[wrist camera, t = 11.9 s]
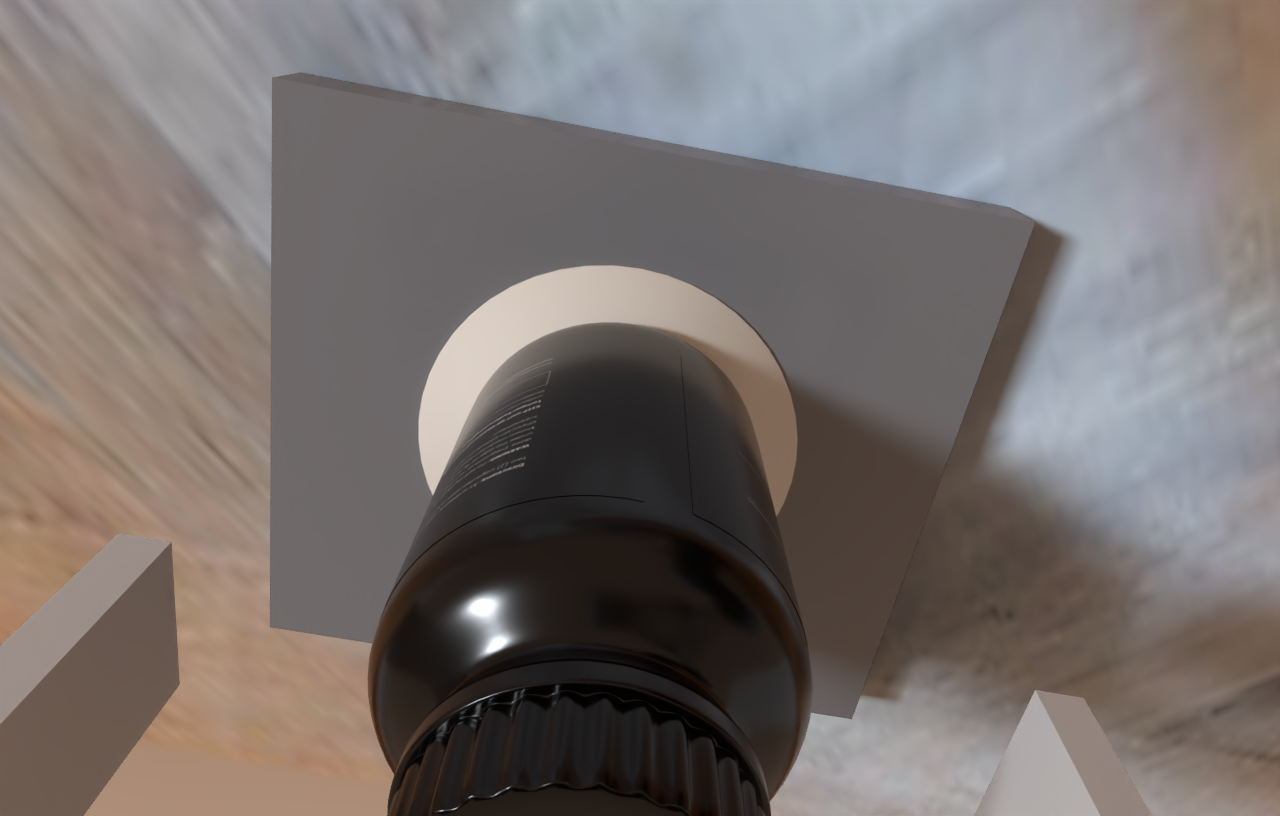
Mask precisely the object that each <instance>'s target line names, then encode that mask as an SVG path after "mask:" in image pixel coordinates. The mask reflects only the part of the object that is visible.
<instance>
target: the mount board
mask: <svg viewBox="0 0 1280 816" xmlns="http://www.w3.org/2000/svg"><path fill="white" fill-rule="evenodd" d="M1034 225H1035V222H1034V221H1032V220H1031V219H1029V218H1027V217H1025V216H1024V215H1022V214H1020V213H1019V212H1017V211H1015V210H1013V209H1012V208H1010V207H1004V206H999V205H994V204H989V203H983V202H978V201H973V200H968V199H962V198H957V197H952V196H947V195H941V194H936V193H931V192H926V191H920V190H915V189H910V188H904V187H899V186H894V185H889V184H883V183H878V182H873V181H868V180H862V179H857V178H852V177H847V176H841V175H836V174H831V173H826V172H820V171H815V170H810V169H805V168H799V167H794V166H789V165H784V164H778V163H773V162H768V161H763V160H757V159H752V158H747V157H741V156H736V155H731V154H726V153H720V152H715V151H710V150H705V149H699V148H694V147H689V146H684V145H678V144H673V143H668V142H663V141H657V140H652V139H647V138H642V137H636V136H631V135H626V134H621V133H615V132H610V131H605V130H600V129H594V128H589V127H584V126H578V125H573V124H568V123H563V122H557V121H552V120H547V119H542V118H536V117H531V116H526V115H521V114H515V113H510V112H505V111H500V110H494V109H489V108H484V107H479V106H473V105H468V104H463V103H458V102H452V101H447V100H442V99H437V98H431V97H426V96H421V95H415V94H410V93H405V92H400V91H394V90H389V89H384V88H379V87H373V86H368V85H363V84H358V83H352V82H347V81H342V80H337V79H331V78H326V77H321V76H316V75H310V74H305V73H295V74H290V75H284V76H278V77H273V78H272V245H271V493H270V627H272V628H278V629H285V630H291V631H297V632H304V633H310V634H316V635H323V636H329V637H335V638H342V639H348V640H354V641H361V642H367V643H373V640H374V636H375V633H376V630H377V627H378V624H379V621H380V618H381V615H382V613H383V610H384V607H385V605H386V602H387V600H388V597H389V595H390V593H391V590H392V588H393V586H394V584H395V581H396V579H397V577H398V574H399V572H400V570H401V567H402V565H403V563H404V561H405V558H406V556H407V554H408V551H409V549H410V547H411V545H412V542H413V540H414V538H415V535H416V533H417V531H418V529H419V526H420V524H421V522H422V519H423V517H424V515H425V513H426V510H427V508H428V506H429V503H430V501H431V499H432V497H433V494H434V492H435V490H436V487H437V485H438V483H439V480H440V478H441V476H442V474H443V471H444V469H445V467H446V464H447V462H448V460H449V458H450V455H451V453H452V451H453V448H454V446H455V444H456V442H457V439H458V437H459V435H460V432H461V430H462V428H463V426H464V423H465V421H466V419H467V417H468V415H469V413H470V411H471V409H472V407H473V405H474V403H475V401H476V399H477V397H478V395H479V393H480V392H481V390H482V389H483V387H484V386H485V384H486V383H487V381H488V380H489V379H490V377H491V376H492V375H493V374H494V373H495V371H496V370H497V369H498V368H499V367H500V366H501V365H502V364H503V363H504V362H505V361H506V360H507V359H508V358H509V357H511V356H512V355H513V354H514V353H516V352H517V351H518V350H520V349H521V348H523V347H524V346H526V345H528V344H529V343H531V342H533V341H535V340H537V339H539V338H541V337H543V336H545V335H547V334H550V333H553V332H555V331H558V330H561V329H564V328H568V327H572V326H576V325H582V324H588V323H600V322H619V323H628V324H635V325H640V326H645V327H649V328H652V329H656V330H659V331H662V332H665V333H667V334H670V335H672V336H674V337H677V338H678V339H680V340H682V341H684V342H686V343H688V344H690V345H691V346H693V347H694V348H696V349H697V350H699V351H700V352H702V353H703V354H704V355H705V356H707V357H708V358H709V359H710V360H712V361H713V362H714V363H715V364H716V365H717V366H718V367H719V368H720V369H721V370H722V371H723V372H724V373H725V375H726V376H727V377H728V378H729V380H730V381H731V382H732V383H733V385H734V386H735V388H736V390H737V391H738V393H739V394H740V396H741V398H742V400H743V402H744V404H745V406H746V408H747V410H748V413H749V416H750V418H751V421H752V424H753V427H754V431H755V435H756V437H757V441H758V445H759V449H760V452H761V456H762V460H763V465H764V469H765V473H766V477H767V481H768V485H769V489H770V493H771V497H772V501H773V505H774V509H775V513H776V517H777V521H778V525H779V529H780V533H781V537H782V541H783V545H784V549H785V554H786V558H787V562H788V566H789V570H790V574H791V578H792V582H793V586H794V590H795V594H796V598H797V602H798V606H799V610H800V614H801V618H802V622H803V626H804V631H805V635H806V639H807V645H808V651H809V657H810V664H811V672H812V679H813V697H812V706H811V713H817V714H823V715H829V716H836V717H842V718H848V719H852V717H853V714H854V712H855V709H856V706H857V704H858V701H859V698H860V696H861V693H862V690H863V687H864V685H865V682H866V679H867V677H868V674H869V671H870V668H871V666H872V663H873V660H874V658H875V655H876V652H877V650H878V647H879V644H880V641H881V639H882V636H883V633H884V631H885V628H886V625H887V623H888V620H889V617H890V614H891V612H892V609H893V606H894V604H895V601H896V598H897V595H898V593H899V590H900V587H901V585H902V582H903V579H904V577H905V574H906V571H907V568H908V566H909V563H910V560H911V558H912V555H913V552H914V550H915V547H916V544H917V541H918V539H919V536H920V533H921V531H922V528H923V525H924V522H925V520H926V517H927V514H928V512H929V509H930V506H931V504H932V501H933V498H934V495H935V493H936V490H937V487H938V485H939V482H940V479H941V477H942V474H943V471H944V468H945V466H946V463H947V460H948V458H949V455H950V452H951V449H952V447H953V444H954V441H955V439H956V436H957V433H958V431H959V428H960V425H961V422H962V420H963V417H964V414H965V412H966V409H967V406H968V404H969V401H970V398H971V395H972V393H973V390H974V387H975V385H976V382H977V379H978V376H979V374H980V371H981V368H982V366H983V363H984V360H985V358H986V355H987V352H988V349H989V347H990V344H991V341H992V339H993V336H994V333H995V331H996V328H997V325H998V322H999V320H1000V317H1001V314H1002V312H1003V309H1004V306H1005V303H1006V301H1007V298H1008V295H1009V293H1010V290H1011V287H1012V285H1013V282H1014V279H1015V276H1016V274H1017V271H1018V268H1019V266H1020V263H1021V260H1022V258H1023V255H1024V252H1025V249H1026V247H1027V244H1028V241H1029V239H1030V236H1031V233H1032V230H1033V228H1034Z"/></svg>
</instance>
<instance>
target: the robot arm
mask: <svg viewBox="0 0 1280 816" xmlns="http://www.w3.org/2000/svg"><path fill="white" fill-rule="evenodd" d="M179 684H180V683H179V665H178V648H177V631H176V613H175V596H174V579H173V561H172V544H171V542H168V541H162V540H157V539H151V538H145V537H139V536H133V535H127V534H122V533H118V534H117V535H116V536H115V537H114V538H113V539H112V540H111V541H110V542H109V543H108V544H107V545H106V546H105V547H104V548H103V549H102V550H101V551H99V552H98V553H97V554H96V555H95V556H94V557H93V558H92V559H91V560H90V561H89V562H88V563H87V564H86V565H85V566H84V567H83V568H82V569H80V570H79V571H78V572H77V573H76V574H75V575H74V576H73V577H72V578H71V579H70V580H69V581H68V582H67V583H66V584H65V585H64V586H63V587H61V588H60V589H59V590H58V591H57V592H56V593H55V594H54V595H53V596H52V597H51V598H50V599H49V600H48V601H47V602H46V603H45V604H44V605H43V606H41V607H40V608H39V609H38V610H37V611H36V612H35V613H34V614H33V615H32V616H31V617H30V618H29V619H28V620H27V621H26V622H25V623H24V624H22V625H21V626H20V627H19V628H18V629H17V630H16V631H15V632H14V633H13V634H12V635H11V636H10V637H9V638H8V639H7V640H6V641H5V642H4V643H2V644H1V645H0V816H84V814H85V813H86V811H87V810H88V809H89V807H90V806H91V805H92V803H93V802H94V801H95V799H96V798H97V796H98V795H99V794H100V792H101V791H102V790H103V788H104V787H105V786H106V784H107V783H108V781H109V780H110V779H111V777H112V776H113V775H114V773H115V772H116V771H117V769H118V767H119V766H120V765H121V763H122V762H123V761H124V760H125V758H126V757H127V755H128V754H129V753H130V751H131V750H132V749H133V747H134V746H135V745H136V743H137V742H138V740H139V739H140V738H141V736H142V735H143V734H144V732H145V731H146V730H147V728H148V727H149V725H150V724H151V723H152V721H153V720H154V719H155V717H156V716H157V715H158V713H159V712H160V710H161V709H162V708H163V706H164V705H165V704H166V702H167V701H168V699H169V698H170V697H171V695H172V694H173V693H174V691H175V690H176V689H177V687H178V686H179ZM974 816H1152V815H1151V813H1150V811H1149V810H1148V808H1147V806H1146V804H1145V803H1144V801H1143V799H1142V798H1141V796H1140V794H1139V792H1138V791H1137V789H1136V787H1135V786H1134V784H1133V782H1132V780H1131V779H1130V777H1129V775H1128V773H1127V772H1126V770H1125V768H1124V767H1123V765H1122V763H1121V761H1120V760H1119V758H1118V756H1117V754H1116V753H1115V751H1114V749H1113V748H1112V746H1111V744H1110V742H1109V741H1108V739H1107V737H1106V736H1105V734H1104V732H1103V730H1102V729H1101V727H1100V725H1099V723H1098V722H1097V720H1096V718H1095V717H1094V715H1093V713H1092V711H1091V710H1090V708H1089V706H1088V704H1087V703H1086V701H1085V699H1084V698H1081V697H1075V696H1069V695H1063V694H1057V693H1051V692H1045V691H1040V690H1035V691H1034V694H1033V696H1032V698H1031V700H1030V702H1029V704H1028V706H1027V708H1026V710H1025V712H1024V714H1023V716H1022V718H1021V720H1020V722H1019V724H1018V727H1017V729H1016V731H1015V733H1014V735H1013V737H1012V739H1011V741H1010V743H1009V745H1008V747H1007V749H1006V751H1005V753H1004V755H1003V758H1002V760H1001V762H1000V764H999V766H998V768H997V770H996V772H995V774H994V776H993V778H992V780H991V782H990V784H989V786H988V788H987V791H986V793H985V795H984V797H983V799H982V801H981V803H980V805H979V807H978V809H977V811H976V813H975V815H974Z"/></svg>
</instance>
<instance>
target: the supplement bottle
mask: <svg viewBox="0 0 1280 816" xmlns="http://www.w3.org/2000/svg"><path fill="white" fill-rule="evenodd" d="M368 697H369V704H370V711H371V717H372V721H373V725H374V728H375V732H376V735H377V739H378V741H379V744H380V746H381V749H382V751H383V754H384V756H385V759H386V761H387V763H388V764H389V766H390V768H391V770H392V772H393V773H394V778H393V781H392V785H391V789H390V794H389V799H388V815H387V816H771V809H770V801H771V800H772V798H773V797H774V796H775V795H776V793H777V792H778V790H779V789H780V787H781V786H782V784H783V783H784V781H785V780H786V778H787V776H788V775H789V773H790V771H791V769H792V767H793V765H794V763H795V761H796V759H797V757H798V755H799V752H800V749H801V747H802V744H803V742H804V739H805V736H806V732H807V728H808V724H809V720H810V714H811V706H812V697H813V679H812V672H811V664H810V657H809V651H808V645H807V639H806V635H805V631H804V626H803V622H802V618H801V614H800V610H799V606H798V602H797V598H796V594H795V590H794V586H793V582H792V578H791V574H790V570H789V566H788V562H787V558H786V554H785V549H784V545H783V541H782V537H781V533H780V529H779V525H778V521H777V517H776V513H775V509H774V505H773V501H772V497H771V493H770V489H769V485H768V481H767V477H766V473H765V469H764V465H763V460H762V456H761V452H760V449H759V445H758V441H757V437H756V435H755V431H754V427H753V424H752V421H751V418H750V416H749V413H748V410H747V408H746V406H745V404H744V402H743V400H742V398H741V396H740V394H739V393H738V391H737V390H736V388H735V386H734V385H733V383H732V382H731V381H730V380H729V378H728V377H727V376H726V375H725V373H724V372H723V371H722V370H721V369H720V368H719V367H718V366H717V365H716V364H715V363H714V362H713V361H712V360H710V359H709V358H708V357H707V356H705V355H704V354H703V353H702V352H700V351H699V350H697V349H696V348H694V347H693V346H691V345H690V344H688V343H686V342H684V341H682V340H680V339H678V338H677V337H674V336H672V335H670V334H667V333H665V332H662V331H659V330H656V329H652V328H649V327H645V326H640V325H635V324H628V323H619V322H600V323H588V324H582V325H576V326H572V327H568V328H564V329H561V330H558V331H555V332H553V333H550V334H547V335H545V336H543V337H541V338H539V339H537V340H535V341H533V342H531V343H529V344H528V345H526V346H524V347H523V348H521V349H520V350H518V351H517V352H516V353H514V354H513V355H512V356H511V357H509V358H508V359H507V360H506V361H505V362H504V363H503V364H502V365H501V366H500V367H499V368H498V369H497V370H496V371H495V373H494V374H493V375H492V376H491V377H490V379H489V380H488V381H487V383H486V384H485V386H484V387H483V389H482V390H481V392H480V393H479V395H478V397H477V399H476V401H475V403H474V405H473V407H472V409H471V411H470V413H469V415H468V417H467V419H466V421H465V423H464V426H463V428H462V430H461V432H460V435H459V437H458V439H457V442H456V444H455V446H454V448H453V451H452V453H451V455H450V458H449V460H448V462H447V464H446V467H445V469H444V471H443V474H442V476H441V478H440V480H439V483H438V485H437V487H436V490H435V492H434V494H433V497H432V499H431V501H430V503H429V506H428V508H427V510H426V513H425V515H424V517H423V519H422V522H421V524H420V526H419V529H418V531H417V533H416V535H415V538H414V540H413V542H412V545H411V547H410V549H409V551H408V554H407V556H406V558H405V561H404V563H403V565H402V567H401V570H400V572H399V574H398V577H397V579H396V581H395V584H394V586H393V588H392V590H391V593H390V595H389V597H388V600H387V602H386V605H385V607H384V610H383V613H382V615H381V618H380V621H379V624H378V627H377V630H376V633H375V636H374V640H373V644H372V648H371V652H370V658H369V668H368Z"/></svg>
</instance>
